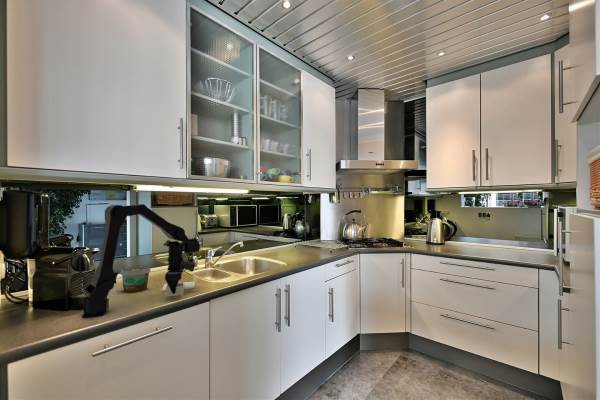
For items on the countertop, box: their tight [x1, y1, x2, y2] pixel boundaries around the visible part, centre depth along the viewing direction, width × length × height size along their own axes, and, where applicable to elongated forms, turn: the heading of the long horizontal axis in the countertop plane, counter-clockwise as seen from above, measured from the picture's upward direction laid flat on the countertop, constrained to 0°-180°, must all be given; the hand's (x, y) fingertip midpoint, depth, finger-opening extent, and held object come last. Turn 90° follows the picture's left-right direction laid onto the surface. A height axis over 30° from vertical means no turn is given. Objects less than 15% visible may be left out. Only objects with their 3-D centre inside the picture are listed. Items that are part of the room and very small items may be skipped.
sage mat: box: [161, 281, 196, 292], centre depth 132 cm, size 14×10×1 cm
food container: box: [120, 267, 152, 294], centre depth 125 cm, size 12×6×10 cm, turn 105°
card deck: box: [165, 282, 185, 298], centre depth 122 cm, size 5×7×4 cm
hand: (174, 290), depth 122 cm, fingers open, 9 cm apart
